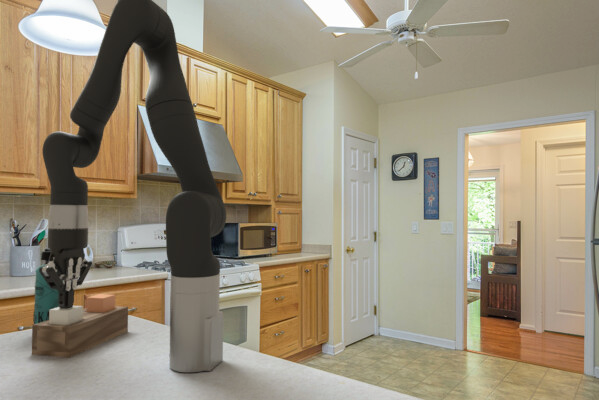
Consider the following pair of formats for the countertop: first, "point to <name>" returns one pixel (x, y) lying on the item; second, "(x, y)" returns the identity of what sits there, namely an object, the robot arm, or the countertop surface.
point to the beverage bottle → (44, 295)
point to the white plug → (65, 315)
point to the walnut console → (78, 333)
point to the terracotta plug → (100, 303)
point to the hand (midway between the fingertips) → (66, 307)
